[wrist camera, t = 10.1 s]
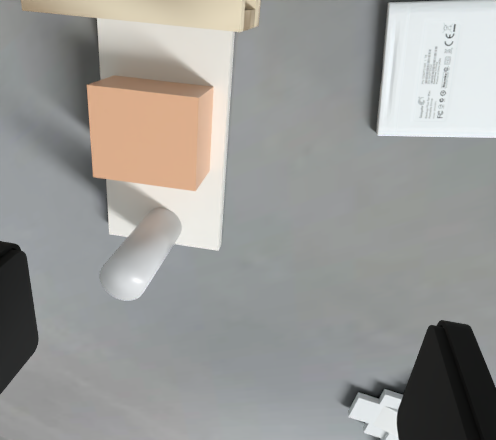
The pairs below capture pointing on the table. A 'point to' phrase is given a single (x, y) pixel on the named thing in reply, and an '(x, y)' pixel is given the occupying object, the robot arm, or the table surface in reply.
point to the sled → (159, 142)
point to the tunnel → (160, 11)
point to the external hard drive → (439, 69)
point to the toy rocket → (377, 414)
